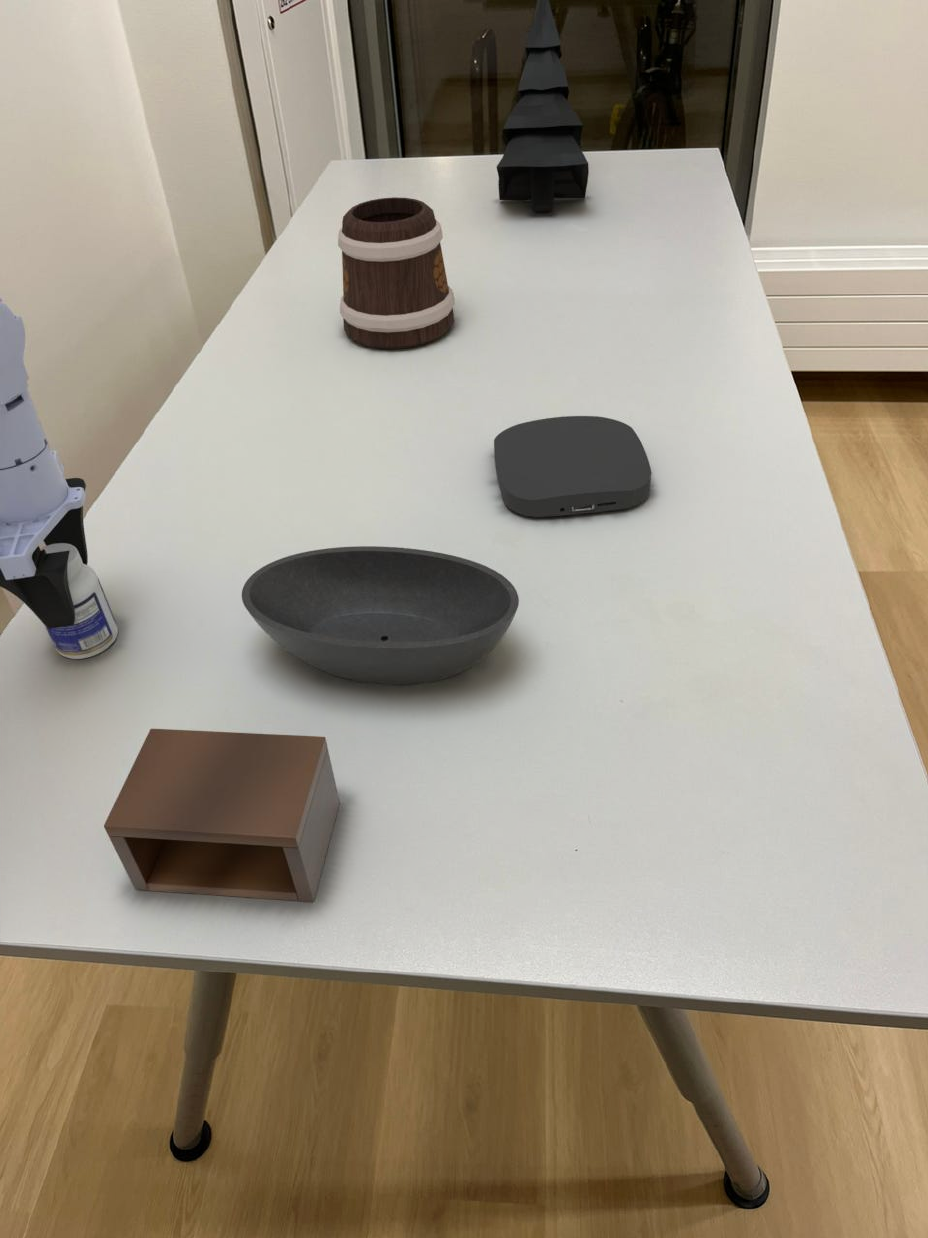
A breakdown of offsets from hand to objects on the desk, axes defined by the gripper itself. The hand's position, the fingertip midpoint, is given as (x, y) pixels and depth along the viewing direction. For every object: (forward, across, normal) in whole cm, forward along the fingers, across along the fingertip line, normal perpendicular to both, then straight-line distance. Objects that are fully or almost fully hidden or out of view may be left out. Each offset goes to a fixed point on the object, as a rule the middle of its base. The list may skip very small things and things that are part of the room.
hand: (68, 594), depth 78 cm
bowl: (+5, -8, -25) cm, 27 cm away
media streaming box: (+5, +14, -46) cm, 49 cm away
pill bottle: (+5, 0, 0) cm, 5 cm away
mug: (+5, +58, -34) cm, 67 cm away
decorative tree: (+6, +100, -63) cm, 118 cm away
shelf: (+5, -24, -13) cm, 28 cm away
